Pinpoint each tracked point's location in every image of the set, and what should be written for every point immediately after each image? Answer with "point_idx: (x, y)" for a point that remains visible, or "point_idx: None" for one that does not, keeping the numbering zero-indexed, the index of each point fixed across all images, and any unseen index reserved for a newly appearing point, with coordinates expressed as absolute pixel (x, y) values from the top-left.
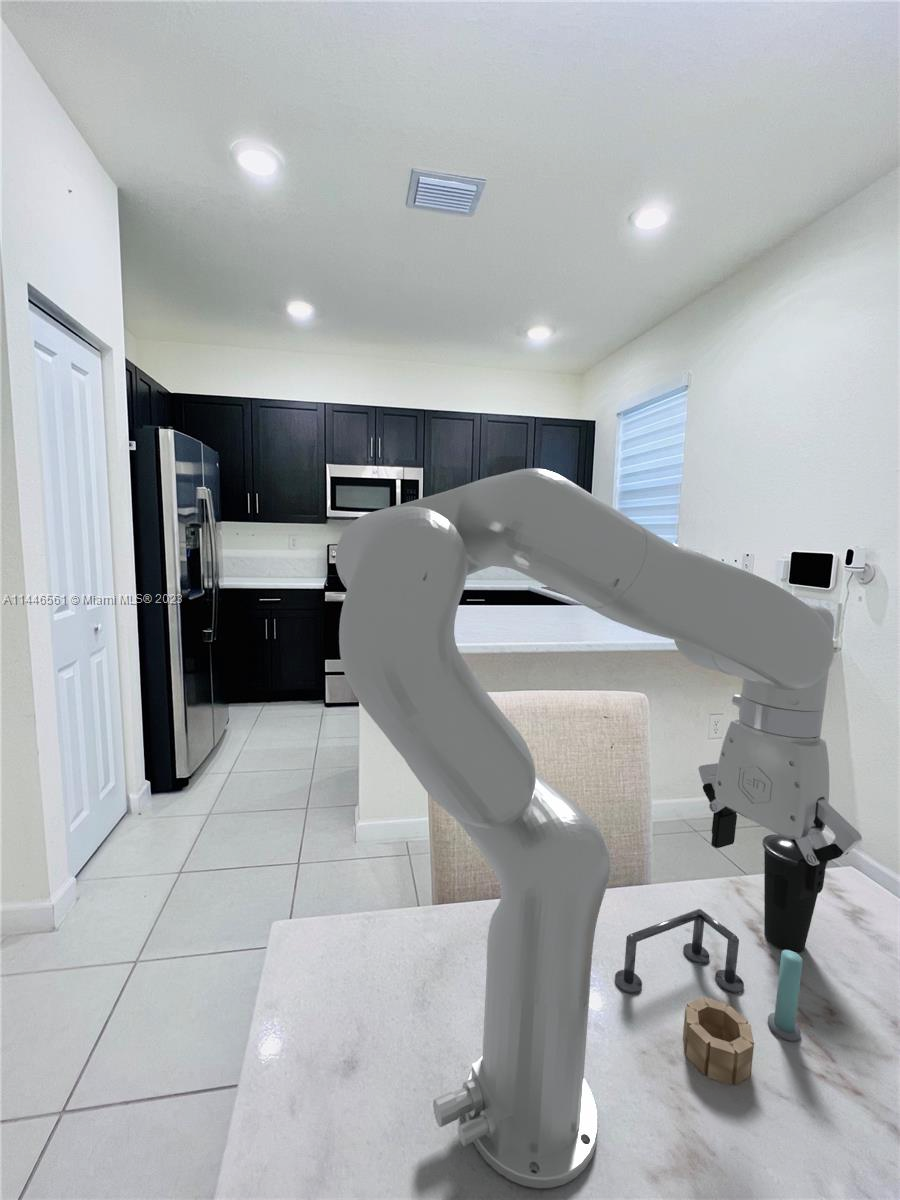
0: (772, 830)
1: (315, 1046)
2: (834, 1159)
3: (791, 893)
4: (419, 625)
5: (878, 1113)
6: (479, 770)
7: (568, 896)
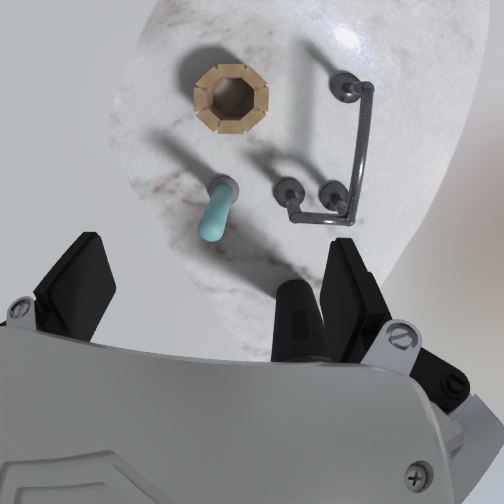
0: (48, 334)
1: None
2: (128, 116)
3: (288, 330)
4: None
5: (140, 187)
6: None
7: None
